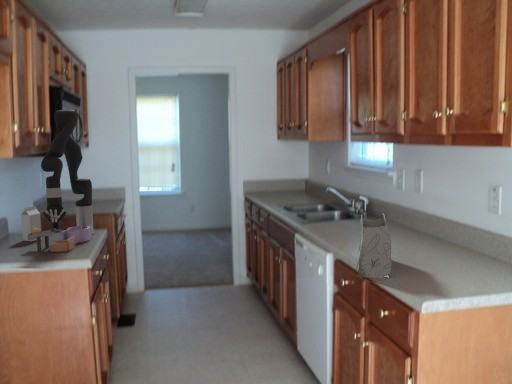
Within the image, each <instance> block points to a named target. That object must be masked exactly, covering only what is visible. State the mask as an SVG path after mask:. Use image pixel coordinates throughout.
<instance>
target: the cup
mask: <svg viewBox="0 0 512 384" xmlns="http://www.w3.org/2000/svg"><path fill="white" fill-rule="evenodd" d="M75 248H76V244H75V236H73V237H71V238H69V239H67V240H62V239H60V240H59V239H57V240H56V241H55V242H53V243H49V252H70V251H72V250H73V249H75Z"/></svg>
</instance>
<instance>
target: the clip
mask: <svg viewBox="0 0 512 384" xmlns="http://www.w3.org/2000/svg"><path fill="white" fill-rule="evenodd" d="M60 235H61V237H60V238H61V239H60V240H67V239H69V238H71V237H73V236H75V245H76V244H78V243H82V242H88V241H90V240H91V239H93V234H92V226H87V227H86V229H82V226H77V225H76V226H71V227H68V228H66V229H65V230H62V231H60Z"/></svg>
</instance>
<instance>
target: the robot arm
mask: <svg viewBox="0 0 512 384" xmlns="http://www.w3.org/2000/svg"><path fill="white" fill-rule="evenodd" d="M78 117H79V116H78V114H77V112H76V111H75V110H73V109H59V110H56V111H55V113H54V122H55V125H56V128H57V131H58V134H57V135H56V136H55V137H54V138H53V140H52V141H51V143H50V147H49V150H48V152H47V153H46V154H45V156H43V158H42V160H41V163H40V167H41V170H42V171H43V172H46V173H48V172H49V173H53V174H52V175H50V176H47V177H46V178H45V187H46V188H45V189H46V190H45V197H46V209H45V210H44V211H43V212H42V214H43V216H44V217H45V218H46V220H48V221H49V222H51V223H52V229H53V228H56V230H58V229H60V221H63V219H64V218H65V217H66V215H67V214H68V211H67V210H65V209H64V207H63V199H62V198H63V195H62V188H61V177H62V172H63V167H64V164H63V161H62V159H61V158H62V157H63V155H64V158H65V162H66V165H67V170H68V175H69V181H70V187H71V191H72V193H73V194H74V195H83V197H82V198H81V199H77V200H76V201H75V220H76V226H82V229H86V227H87V226H92V235H93V234H94V218H93V216H94V215H93V184H92V180H91V179H90V178H79V176H78V171H79V168H80V165H81V163H82V161H83V153H82V149H81V146H80V145H79V143H78V142H77V140H76V139H75V138H74V137H72V136H71V135H72V133H73V132H74V130H75V128H76V126H77V123H78Z"/></svg>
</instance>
